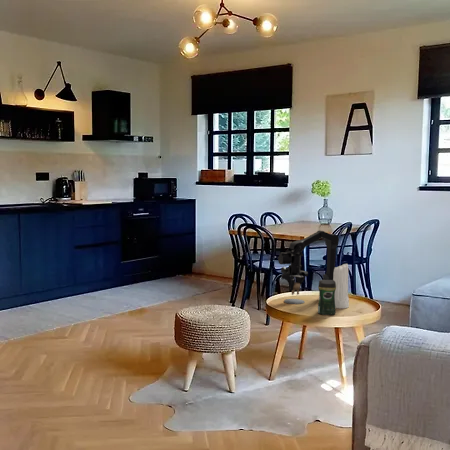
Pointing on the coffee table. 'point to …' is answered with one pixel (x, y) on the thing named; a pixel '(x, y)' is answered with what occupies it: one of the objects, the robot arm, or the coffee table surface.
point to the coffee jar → (326, 297)
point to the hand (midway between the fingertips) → (294, 289)
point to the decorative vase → (341, 286)
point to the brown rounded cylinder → (296, 288)
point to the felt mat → (294, 301)
